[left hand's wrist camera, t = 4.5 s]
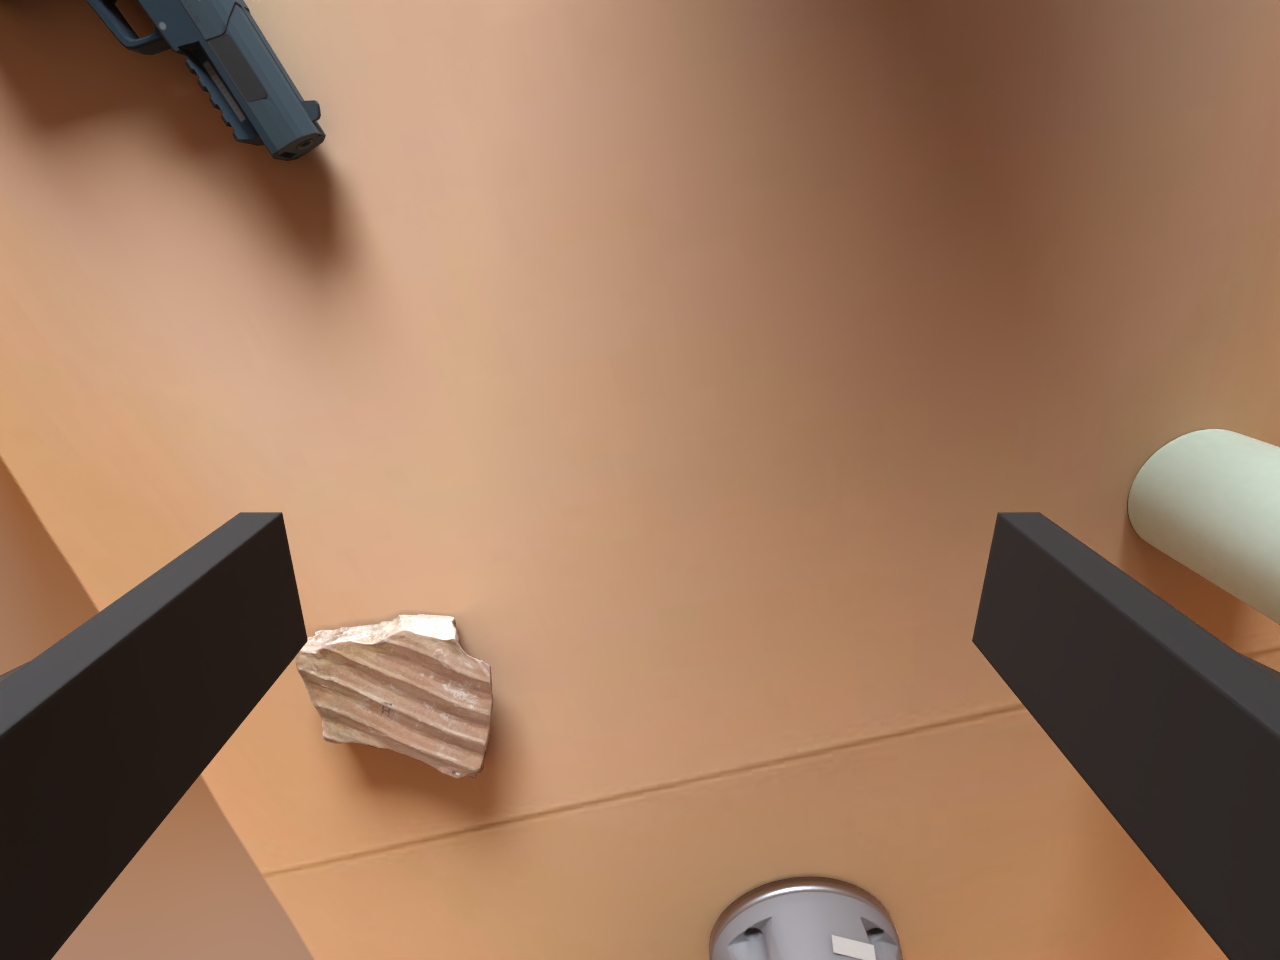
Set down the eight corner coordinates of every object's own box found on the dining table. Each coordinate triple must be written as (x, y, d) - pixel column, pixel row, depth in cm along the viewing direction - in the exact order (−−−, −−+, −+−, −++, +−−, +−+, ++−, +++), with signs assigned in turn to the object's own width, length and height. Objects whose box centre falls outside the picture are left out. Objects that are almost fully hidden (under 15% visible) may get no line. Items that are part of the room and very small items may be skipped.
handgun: (125, 246, 34) (318, 123, 32) (-170, -142, 28) (44, -320, 27) (166, 244, 37) (345, 131, 35) (-93, -108, 31) (103, -266, 30)
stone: (507, 624, 45) (499, 647, 43) (488, 763, 49) (480, 791, 47) (312, 592, 44) (293, 613, 42) (309, 736, 49) (291, 762, 46)
